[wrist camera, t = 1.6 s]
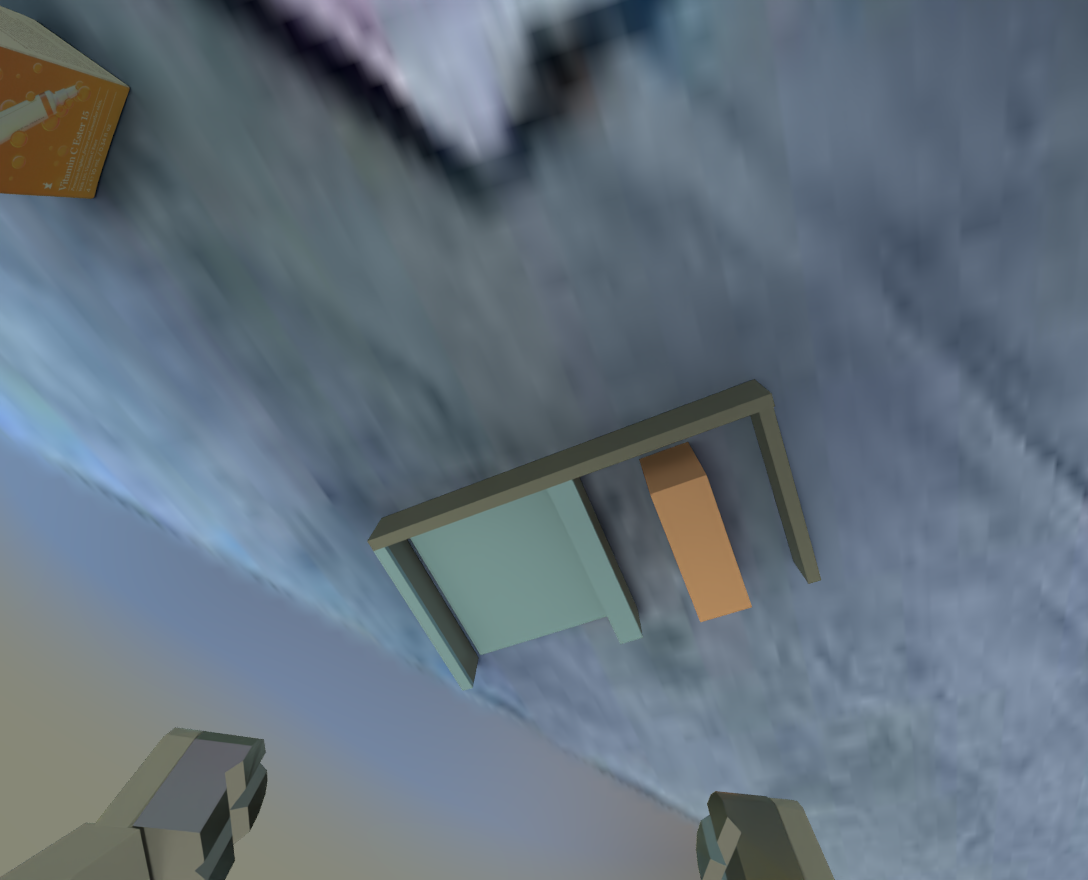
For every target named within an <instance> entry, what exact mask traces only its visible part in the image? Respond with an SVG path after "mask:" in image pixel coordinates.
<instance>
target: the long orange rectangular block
mask: <svg viewBox="0 0 1088 880" xmlns="http://www.w3.org/2000/svg"><path fill="white" fill-rule="evenodd" d="M639 460H640V463H641V467H642V470H643V473H644V476H645V479H646V483H647V486H648V489H649V492H650V495H651V498H652V500H653V503H654V505H655V508H656V510H657V513H658V515H659V518H660V521H661V523H662V526H663V528H664V531H665V533H666V536H667V538H668V541H669V543H670V546H671V549H672V551H673V554H674V556H675V559H676V561H677V564H678V566H679V569H680V571H681V574H682V576H683V579H684V582H685V584H686V587H687V589H688V592H689V594H690V597H691V599H692V602H693V604H694V607H695V610H696V612H697V615H698V617H699V620H700V622H703V621H706V620H710V619H713V618H717V617H720V616H723V615H727V614H730V613H734V612H737V611H740V610H744V609H747V608H751V607H752V606H751V603H750V600H749V597H748V594H747V591H746V588H745V585H744V583H743V580H742V577H741V574H740V571H739V568H738V565H737V562H736V559H735V556H734V553H733V551H732V548H731V545H730V542H729V539H728V536H727V533H726V530H725V527H724V524H723V521H722V519H721V516H720V513H719V510H718V507H717V504H716V501H715V498H714V495H713V492H712V489H711V487H710V484H709V481H708V478H707V475H706V473H705V471H704V470H703V468H702V466H701V464H700V462H699V461H698V459H697V457H696V455H695V454H694V452H693V450H692V448H691V446H690V445H689V443H688V442H686V443H683V444H680V445H677V446H675V447H672V448H669V449H666V450H664V451H661V452H658V453H655V454H652V455H650V456H647V457H644V458H641V459H639Z"/></svg>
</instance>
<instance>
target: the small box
mask: <svg viewBox="0 0 1088 880" xmlns="http://www.w3.org/2000/svg"><path fill="white" fill-rule="evenodd" d="M128 92H129V86H128V85H126V84H125V83H123V82H122V81H120V80H119V79H118V78H116V77H115V76H113V75H112V74H110V73H109V72H108V71H106V70H105V69H103V68H102V67H100V66H99V65H98V64H96V63H95V62H93V61H92V60H90V59H89V58H88V57H86V56H85V55H83V54H82V53H80V52H79V51H78V50H76V49H75V48H73V47H72V46H71V45H69V44H68V43H66V42H65V41H63V40H62V39H61V38H59V37H58V36H56V35H55V34H54V33H52V32H51V31H49V30H48V29H46V28H45V27H44V26H42V25H41V24H39V23H38V22H37V21H35V20H33V19H31V18H29V17H27V16H24V15H22V14H19V13H17V12H14V11H12V10H9V9H7V8H4V7H1V6H0V193H4V194H18V195H35V196H55V197H71V198H88V199H92V198H94V196H95V192H96V188H97V184H98V180H99V177H100V174H101V171H102V167H103V164H104V161H105V158H106V155H107V152H108V149H109V146H110V143H111V140H112V137H113V134H114V131H115V129H116V126H117V123H118V120H119V117H120V114H121V111H122V108H123V106H124V103H125V100H126V97H127V95H128Z"/></svg>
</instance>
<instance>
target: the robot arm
mask: <svg viewBox="0 0 1088 880" xmlns="http://www.w3.org/2000/svg"><path fill="white" fill-rule="evenodd" d="M265 753H266V751H265V744H264V739H258V738H250V737H243V736H236V735H228V734H221V733H214V732H206V731H200V730H192V729H184V728H174V729H173V730H172V731H170V732H169V733H167V734H166V735H165V736H164V737H163V738H162V739H161V740H160V742H159V743H158V744H157V745H156V747H155V748H154V749H153V751H152V752H151V753H150V754H149V756H148V757H147V758H146V759H145V761H144V762H143V763H142V764H141V766H140V767H139V768H138V770H137V771H136V772H135V773H134V775H133V776H132V777H131V778H130V780H129V781H128V782H127V783H126V785H125V786H124V787H123V789H122V790H121V791H120V792H119V794H118V795H117V796H116V797H115V799H114V800H113V801H112V803H111V804H110V805H109V806H108V808H107V809H106V810H105V811H104V813H103V814H102V815H101V817H100V818H99V819H98V820H97V822H96V823H84V824H83V825H81V826H80V827H78V828H76V829H75V830H73V831H72V832H70V833H69V834H67V835H66V836H64V837H62V838H61V839H59V840H58V841H56V842H55V843H53V844H51V845H50V846H48V847H47V848H45V849H44V850H42V851H40V852H39V853H37V854H36V855H34V856H33V857H31V858H30V859H28V860H26V861H25V862H23V863H22V864H20V865H18V866H17V867H16V868H14V869H12V870H11V871H9V872H8V873H6V874H4V875H3V876H1V877H0V880H225V879H226V877H227V875H228V873H229V871H230V869H231V867H232V865H233V863H234V861H235V856H234V846H233V845H234V844H235V843H236V842H237V841H239V840H240V839H241V838H242V837H244V836H245V835H246V834H247V833H249V832H250V830H251V828H252V826H253V824H254V822H255V820H256V818H257V816H258V814H259V811H260V809H261V806H262V803H263V799H264V797H265V794H266V787H267V770H266V769H265V768H264V767H263V765H262V764H261V763H260V762H261V760H262V758H263V756H264V754H265ZM707 805H708V809H709V813H710V815H708V816H707V817H705V818H704V819H702V820H701V822H700V825H699V828H698V831H697V843H696V853H697V862H698V868H699V873H700V878H701V880H835V879H834V877H833V875H832V872H831V870H830V868H829V866H828V863H827V861H826V859H825V857H824V854H823V852H822V850H821V848H820V845H819V843H818V841H817V839H816V836H815V834H814V832H813V829H812V827H811V825H810V823H809V820H808V818H807V816H806V814H805V811H804V809H803V807H802V806H801V805H800V804H799V803H798V801H794V800H788V799H777V798H768V797H766V796H758V795H748V794H738V793H728V792H718V791H715V792H714V793H712V794H711V795H710V798H709V800H708V803H707Z"/></svg>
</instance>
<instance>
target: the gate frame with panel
mask: <svg viewBox="0 0 1088 880" xmlns="http://www.w3.org/2000/svg"><path fill="white" fill-rule="evenodd" d="M773 407H775V404H774V401H773V397H772V393H770V392H769V391H768V390H767V389H766V388H764V387H763V386H762V385H761V384H760V383H758V382H757V381H756V380H755V379H754V380H751V381H748V382H746V383H743V384H740V385H738V386H735V387H732V388H730V389H727V390H724V391H721V392H719V393H716V394H713V395H711V396H708V397H705V398H703V399H700V400H697V401H695V402H692V403H689V404H687V405H684V406H681V407H679V408H676V409H673V410H670V411H668V412H665V413H662V414H660V415H657V416H654V417H652V418H649V419H646V420H644V421H641V422H638V423H636V424H633V425H630V426H628V427H625V428H622V429H620V430H617V431H614V432H611V433H609V434H606V435H603V436H601V437H598V438H595V439H593V440H590V441H587V442H585V443H582V444H579V445H577V446H574V447H571V448H569V449H566V450H563V451H561V452H558V453H555V454H552V455H550V456H547V457H544V458H542V459H539V460H536V461H534V462H531V463H528V464H526V465H523V466H520V467H518V468H515V469H512V470H510V471H507V472H504V473H502V474H499V475H496V476H493V477H491V478H488V479H485V480H483V481H480V482H477V483H475V484H472V485H469V486H467V487H464V488H461V489H459V490H456V491H453V492H451V493H448V494H445V495H443V496H440V497H437V498H434V499H432V500H429V501H426V502H424V503H421V504H418V505H416V506H413V507H410V508H408V509H405V510H402V511H400V512H397V513H394V514H392V515H389V516H386V517H384V518H381V520H380V522H379V523H378V525H377V526H376V528H375V530H374V531H373V533H372V534H371V536H370V538H369V539H368V541H367V542H368V543H369V545H370V546H371V548H372V549H373V551H374V553H375V554H376V556H377V557H378V559H379V560H380V562H381V564H382V565H383V567H384V568H385V570H386V571H387V573H388V574H389V576H390V578H391V579H392V581H393V582H394V584H395V585H396V587H397V589H398V590H399V592H400V593H401V595H402V596H403V598H404V600H405V601H406V603H407V604H408V606H409V607H410V609H411V610H412V612H413V614H414V615H415V617H416V618H417V620H418V621H419V623H420V625H421V626H422V628H423V629H424V631H425V632H426V634H427V636H428V637H429V639H430V640H431V642H432V643H433V645H434V646H435V648H436V650H437V651H438V653H439V654H440V656H441V657H442V659H443V661H444V662H445V664H446V665H447V667H448V668H449V670H450V672H451V673H452V675H453V676H454V678H455V679H456V681H457V682H458V684H459V686H460V687H461V689H462V690H467V689H470V688H473V684H474V679H475V674H476V668H477V663H478V656H477V654H476V653H475V651H474V649H473V648H472V646H471V645H470V643H469V641H468V640H467V638H466V636H465V635H464V633H463V631H462V630H461V628H460V626H459V625H458V623H457V621H456V620H455V618H454V616H453V615H452V613H451V611H450V610H449V608H448V607H447V605H446V603H445V602H444V600H443V598H442V597H441V595H440V593H439V592H438V590H437V588H436V587H435V585H434V583H433V582H432V580H431V578H430V577H429V575H428V574H427V572H426V570H425V569H424V567H423V565H422V564H421V562H420V560H419V559H418V557H417V555H416V554H415V552H414V550H413V549H412V547H411V545H410V544H409V542H408V540H407V539H409V538H410V539H411V540H412V542H413V544H414V545H415V547H416V549H417V550H418V552H419V554H420V555H421V557H422V559H423V560H424V562H425V564H426V565H427V567H428V569H429V570H430V572H431V574H432V575H433V577H434V579H435V580H436V582H437V584H438V585H439V587H440V589H441V590H442V592H443V594H444V595H445V597H446V599H447V600H448V602H449V604H450V605H451V607H452V608H453V610H454V612H455V613H456V615H457V617H458V618H459V620H460V622H461V623H462V625H463V627H464V628H465V630H466V632H467V633H468V635H469V637H470V638H471V640H472V642H473V643H474V645H475V647H476V648H477V650H478V652H479V653H480V655H482V654H486V653H489V652H492V651H496V650H499V649H502V648H505V647H509V646H512V645H515V644H518V643H522V642H525V641H528V640H531V639H535V638H538V637H541V636H544V635H548V634H551V633H554V632H558V631H561V630H564V629H567V628H571V627H574V626H577V625H580V624H584V623H587V622H590V621H593V620H597V619H600V618H603V617H606V616H607V617H608V619H609V621H610V623H611V625H612V627H613V629H614V631H615V634H616V636H617V638H618V640H619V642H620V644H623V643H626V642H630V641H633V640H636V639H640V638H643V635H642V630H641V624H640V619H639V614H638V609H637V607H636V604H635V602H634V600H633V598H632V595H631V593H630V591H629V589H628V586H627V584H626V582H625V580H624V577H623V575H622V573H621V571H620V568H619V566H618V564H617V562H616V559H615V557H614V555H613V552H612V550H611V548H610V546H609V543H608V541H607V539H606V537H605V534H604V532H603V530H602V528H601V525H600V523H599V521H598V519H597V516H596V514H595V512H594V510H593V507H592V505H591V503H590V501H589V498H588V496H587V494H586V492H585V489H584V487H583V485H582V483H581V480H580V478H579V477H581V476H583V475H586V474H589V473H592V472H594V471H597V470H600V469H603V468H605V467H608V466H611V465H614V464H617V463H619V462H622V461H625V460H628V459H630V458H633V457H636V456H639V455H642V454H644V453H647V452H650V451H653V450H655V449H658V448H661V447H664V446H666V445H669V444H672V443H675V442H678V441H680V440H683V439H686V438H689V437H691V436H694V435H697V434H700V433H702V432H705V431H708V430H711V429H714V428H716V427H719V426H722V425H725V424H727V423H730V422H733V421H736V420H739V419H741V418H744V417H747V416H751V420H752V423H753V426H754V430H755V433H756V436H757V440H758V443H759V447H760V450H761V453H762V457H763V460H764V463H765V467H766V470H767V474H768V477H769V480H770V484H771V487H772V490H773V494H774V497H775V501H776V504H777V507H778V511H779V514H780V517H781V521H782V524H783V528H784V531H785V534H786V538H787V541H788V544H789V548H790V551H791V555H792V558H793V561H794V563H795V564H796V566H797V567H798V569H799V570H800V572H801V573H802V575H803V576H804V578H805V579H806V581H807V582H808V584H810V583H813V582H817V581H820V580H821V577H820V574H819V570H818V566H817V563H816V559H815V556H814V552H813V548H812V545H811V541H810V538H809V534H808V530H807V527H806V523H805V520H804V516H803V512H802V509H801V505H800V502H799V498H798V494H797V491H796V487H795V484H794V480H793V476H792V473H791V469H790V466H789V462H788V458H787V455H786V451H785V448H784V444H783V440H782V437H781V433H780V429H779V426H778V422H777V419H776V415H775V411H774V408H773Z"/></svg>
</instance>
